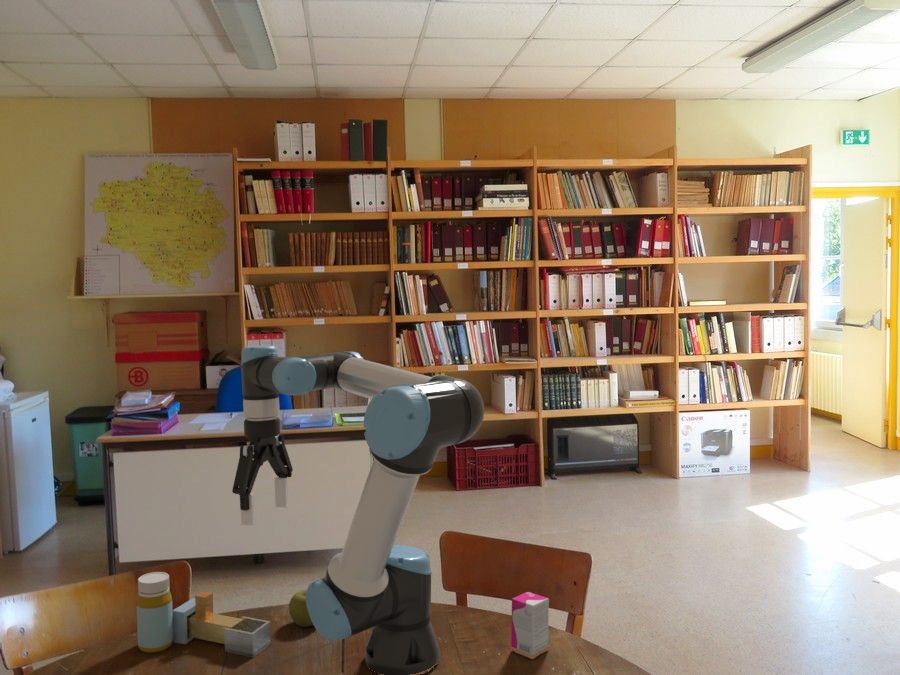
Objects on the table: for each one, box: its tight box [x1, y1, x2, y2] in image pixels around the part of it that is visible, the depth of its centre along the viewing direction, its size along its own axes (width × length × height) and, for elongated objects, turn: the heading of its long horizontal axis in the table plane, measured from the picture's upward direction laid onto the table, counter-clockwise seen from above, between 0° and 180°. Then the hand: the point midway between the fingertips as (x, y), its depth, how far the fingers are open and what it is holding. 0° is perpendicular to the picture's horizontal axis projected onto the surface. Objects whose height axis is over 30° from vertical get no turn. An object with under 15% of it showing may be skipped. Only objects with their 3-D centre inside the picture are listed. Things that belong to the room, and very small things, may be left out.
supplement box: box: [510, 591, 550, 655], centre depth 164 cm, size 6×6×12 cm
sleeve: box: [224, 616, 272, 659], centre depth 166 cm, size 7×6×5 cm
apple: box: [288, 589, 314, 628], centre depth 177 cm, size 8×8×7 cm
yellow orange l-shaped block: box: [187, 590, 244, 645], centre depth 168 cm, size 13×4×9 cm, turn 69°
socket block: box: [172, 597, 195, 645], centre depth 171 cm, size 3×7×7 cm, turn 159°
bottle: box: [136, 571, 174, 654], centre depth 166 cm, size 7×7×15 cm
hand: (265, 515), depth 169 cm, fingers open, 13 cm apart
